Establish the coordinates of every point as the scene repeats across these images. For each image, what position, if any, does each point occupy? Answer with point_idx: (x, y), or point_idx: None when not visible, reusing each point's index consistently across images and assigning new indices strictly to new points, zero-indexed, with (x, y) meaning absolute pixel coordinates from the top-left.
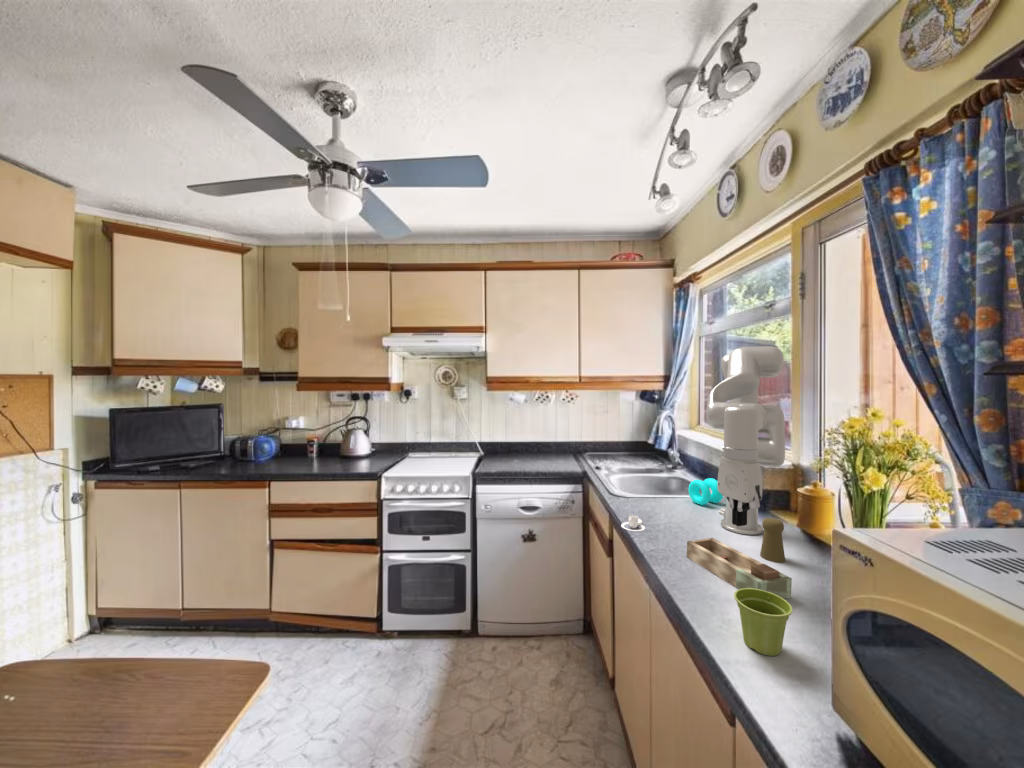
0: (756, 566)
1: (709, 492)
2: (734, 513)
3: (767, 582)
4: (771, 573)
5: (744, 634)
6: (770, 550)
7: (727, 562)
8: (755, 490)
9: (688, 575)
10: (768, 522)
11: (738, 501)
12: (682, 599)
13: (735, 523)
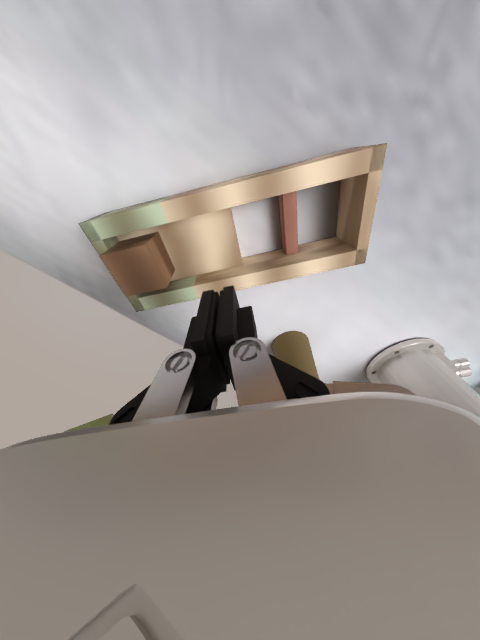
0: (143, 257)
1: None
2: (217, 322)
3: (93, 245)
4: (112, 273)
5: None
6: (285, 349)
7: (206, 203)
8: None
9: (241, 53)
10: None
11: (173, 415)
12: None
13: (212, 292)
